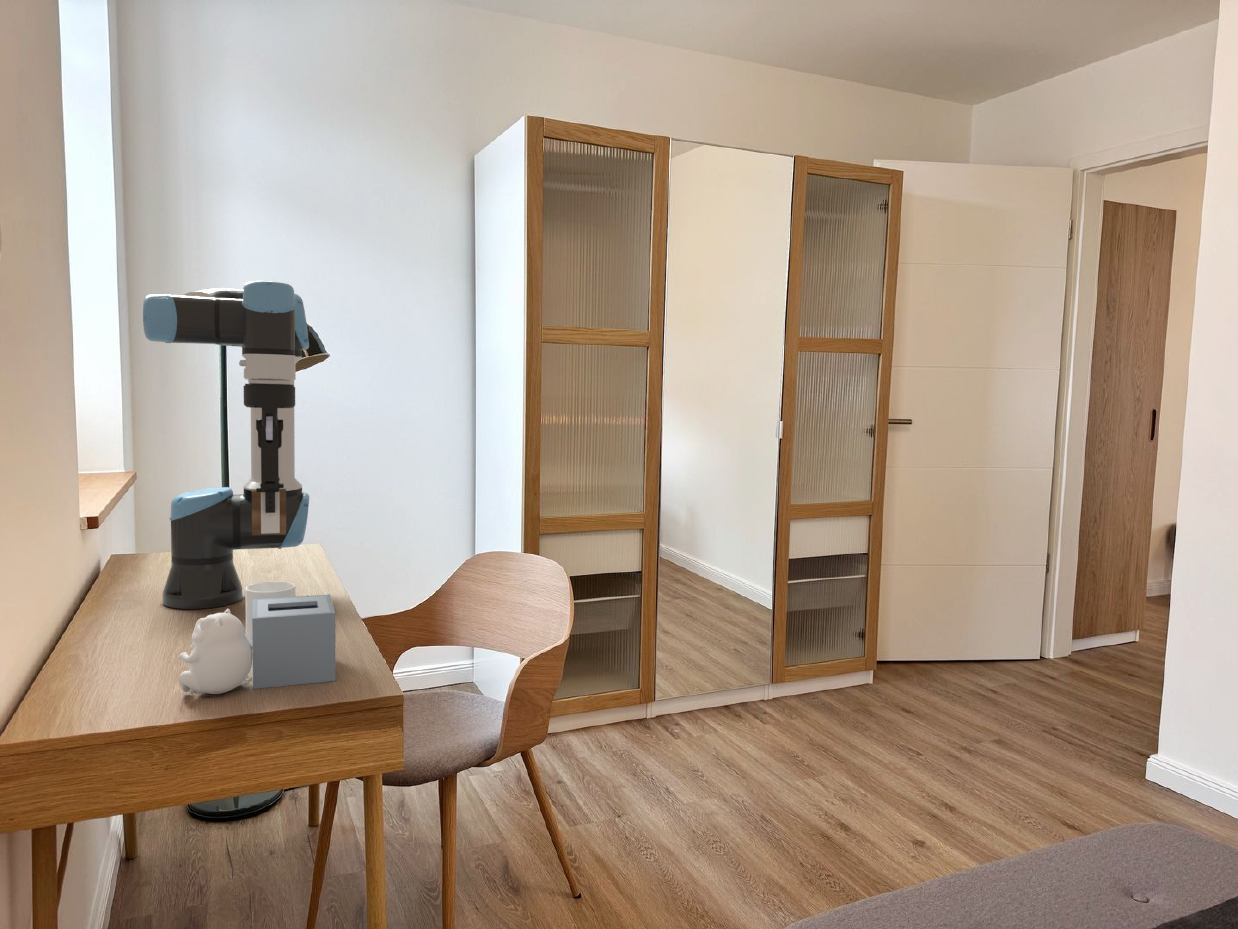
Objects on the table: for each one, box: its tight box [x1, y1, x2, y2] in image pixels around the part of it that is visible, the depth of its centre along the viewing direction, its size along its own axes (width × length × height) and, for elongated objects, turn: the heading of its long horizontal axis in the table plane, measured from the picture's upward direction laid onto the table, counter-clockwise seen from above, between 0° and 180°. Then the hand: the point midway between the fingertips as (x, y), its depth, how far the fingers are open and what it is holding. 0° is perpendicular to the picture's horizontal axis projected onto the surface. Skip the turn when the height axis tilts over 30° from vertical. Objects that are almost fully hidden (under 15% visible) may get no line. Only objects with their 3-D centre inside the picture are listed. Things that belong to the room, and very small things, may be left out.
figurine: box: [177, 608, 253, 695], centre depth 131 cm, size 10×10×12 cm
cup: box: [244, 580, 296, 648], centre depth 157 cm, size 8×12×10 cm
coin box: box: [252, 594, 336, 690], centre depth 140 cm, size 12×12×11 cm
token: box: [252, 489, 286, 535], centre depth 138 cm, size 2×5×7 cm, turn 111°
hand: (270, 531), depth 138 cm, fingers closed on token, 2 cm apart
